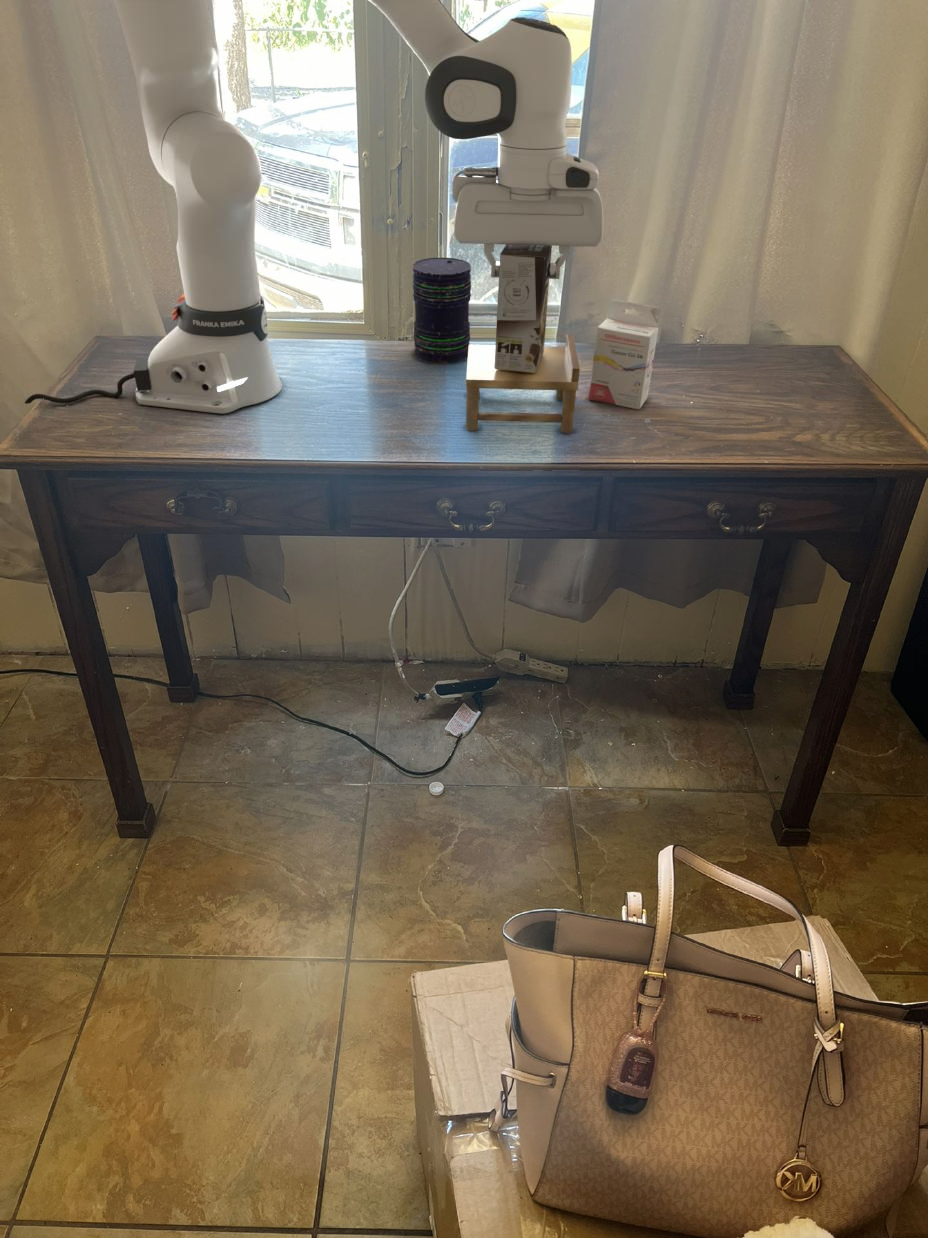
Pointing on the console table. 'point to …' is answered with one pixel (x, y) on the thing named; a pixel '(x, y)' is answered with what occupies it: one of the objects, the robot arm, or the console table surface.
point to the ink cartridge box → (624, 355)
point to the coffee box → (522, 307)
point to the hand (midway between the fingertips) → (525, 277)
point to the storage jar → (441, 309)
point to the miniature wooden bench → (523, 383)
